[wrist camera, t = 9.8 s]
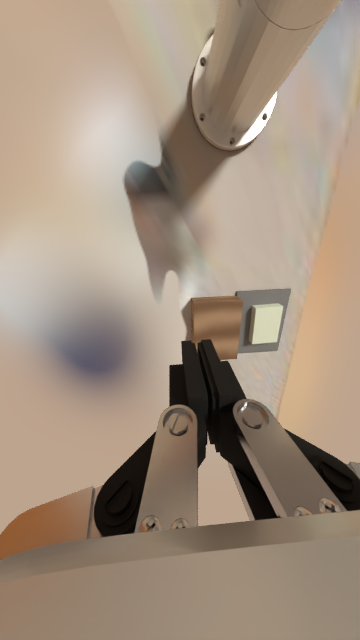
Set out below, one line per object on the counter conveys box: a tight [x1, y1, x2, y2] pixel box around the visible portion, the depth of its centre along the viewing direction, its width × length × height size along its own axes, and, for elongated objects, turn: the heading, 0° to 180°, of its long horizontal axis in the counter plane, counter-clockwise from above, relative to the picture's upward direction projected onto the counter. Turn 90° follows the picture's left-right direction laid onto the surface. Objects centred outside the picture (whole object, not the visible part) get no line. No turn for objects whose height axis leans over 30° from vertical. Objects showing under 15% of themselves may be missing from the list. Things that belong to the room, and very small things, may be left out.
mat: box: [236, 289, 291, 353], centre depth 42 cm, size 16×12×1 cm
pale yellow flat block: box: [249, 303, 283, 344], centre depth 41 cm, size 9×6×2 cm, turn 4°
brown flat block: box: [192, 296, 243, 360], centre depth 40 cm, size 14×10×4 cm
